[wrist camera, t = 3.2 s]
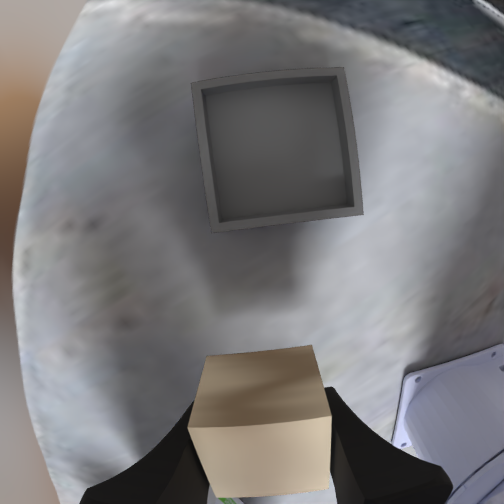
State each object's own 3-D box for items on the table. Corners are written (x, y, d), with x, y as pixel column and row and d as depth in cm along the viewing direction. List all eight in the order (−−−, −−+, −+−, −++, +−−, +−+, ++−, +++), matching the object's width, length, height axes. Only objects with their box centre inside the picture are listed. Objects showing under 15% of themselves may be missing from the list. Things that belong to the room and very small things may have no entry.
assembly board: (332, 81, 14) (343, 67, 12) (349, 208, 16) (363, 214, 14) (200, 95, 15) (190, 82, 12) (217, 224, 16) (211, 233, 14)
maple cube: (311, 344, 13) (331, 415, 9) (315, 418, 14) (328, 488, 10) (206, 355, 13) (187, 427, 9) (225, 427, 14) (216, 497, 10)
